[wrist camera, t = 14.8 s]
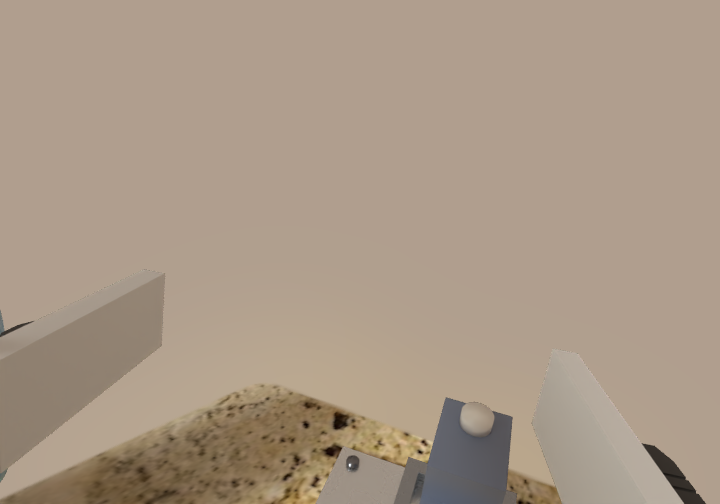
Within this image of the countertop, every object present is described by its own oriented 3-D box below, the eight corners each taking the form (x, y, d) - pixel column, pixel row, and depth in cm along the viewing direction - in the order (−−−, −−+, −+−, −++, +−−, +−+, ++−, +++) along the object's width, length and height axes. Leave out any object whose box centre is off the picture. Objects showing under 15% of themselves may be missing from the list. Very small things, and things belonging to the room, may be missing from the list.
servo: (400, 597, 33) (424, 472, 28) (428, 489, 41) (451, 375, 35) (468, 625, 32) (507, 500, 26) (483, 509, 40) (516, 393, 34)
